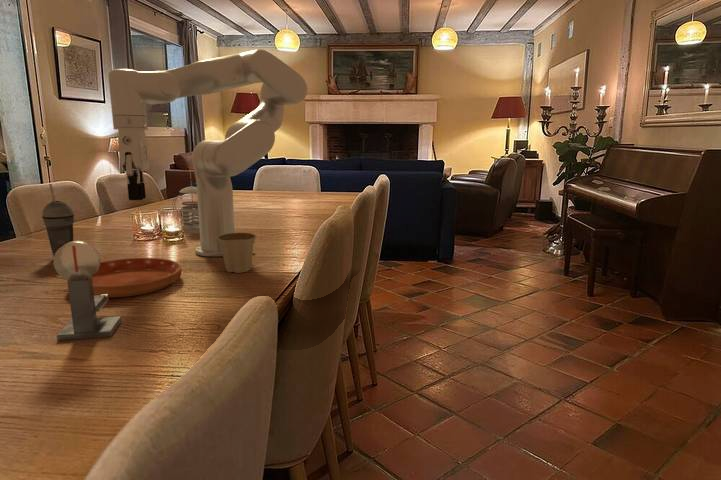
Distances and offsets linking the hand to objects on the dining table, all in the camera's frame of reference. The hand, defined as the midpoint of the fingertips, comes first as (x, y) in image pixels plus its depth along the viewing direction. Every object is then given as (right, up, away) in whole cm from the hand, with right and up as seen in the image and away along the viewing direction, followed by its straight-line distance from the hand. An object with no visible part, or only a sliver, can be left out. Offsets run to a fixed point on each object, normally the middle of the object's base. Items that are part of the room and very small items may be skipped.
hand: (137, 198), depth 119 cm
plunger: (+8, -22, -31) cm, 39 cm away
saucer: (+4, -21, -12) cm, 24 cm away
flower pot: (+25, -18, 0) cm, 31 cm away
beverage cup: (-24, -16, +9) cm, 30 cm away
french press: (-3, -7, +48) cm, 48 cm away
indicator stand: (+9, -26, -36) cm, 46 cm away
